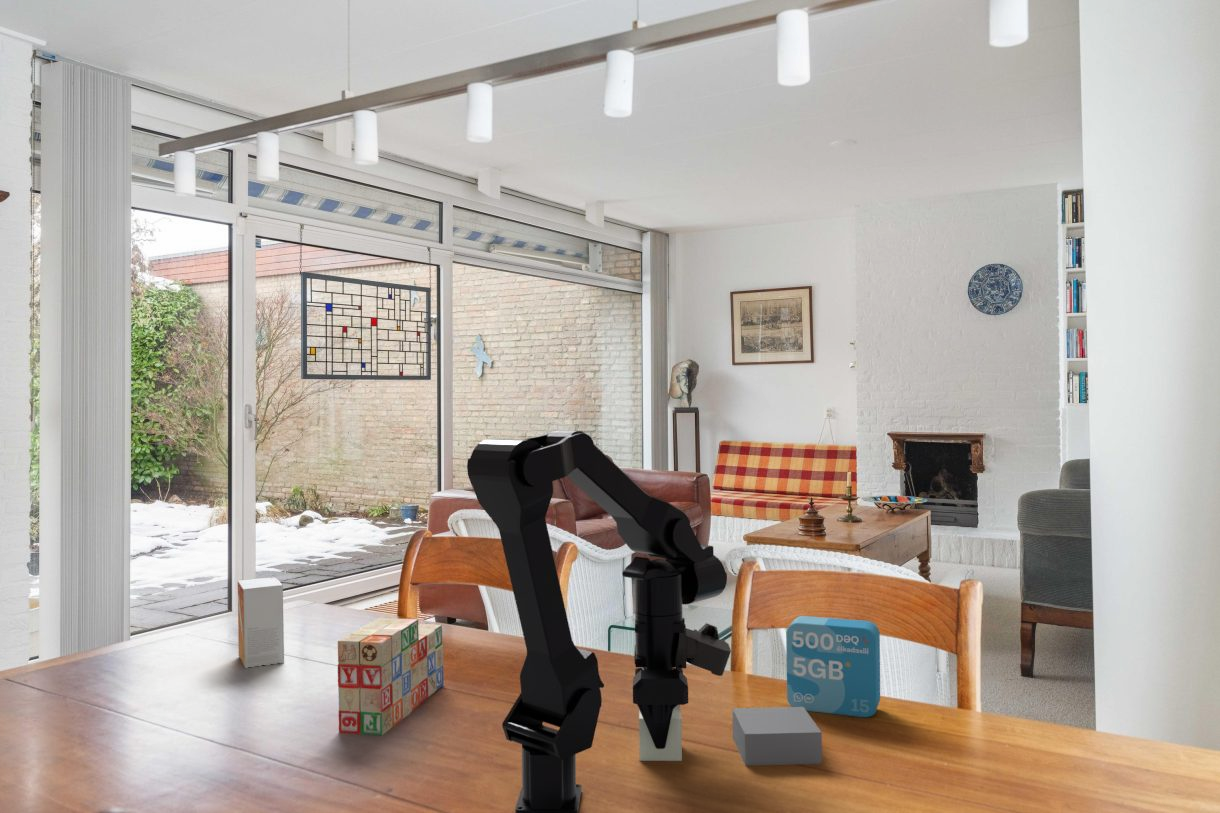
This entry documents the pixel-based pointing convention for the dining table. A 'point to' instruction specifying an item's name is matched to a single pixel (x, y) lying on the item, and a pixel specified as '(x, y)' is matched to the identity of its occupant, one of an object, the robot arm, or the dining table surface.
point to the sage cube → (672, 744)
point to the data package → (833, 665)
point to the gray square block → (776, 736)
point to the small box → (260, 622)
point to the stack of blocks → (387, 673)
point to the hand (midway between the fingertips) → (660, 739)
